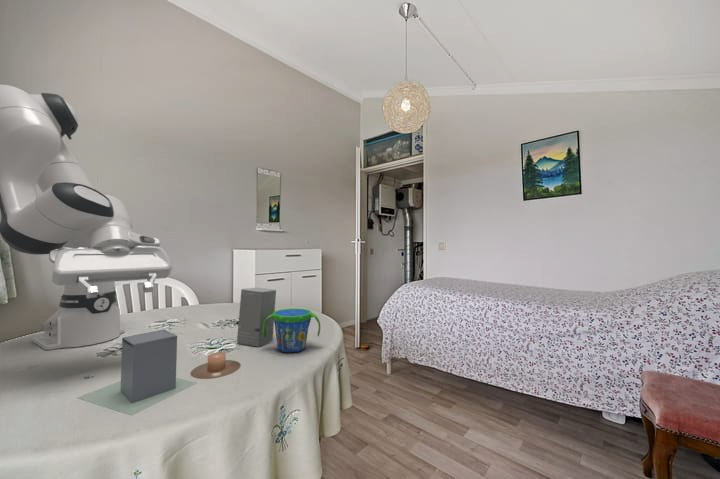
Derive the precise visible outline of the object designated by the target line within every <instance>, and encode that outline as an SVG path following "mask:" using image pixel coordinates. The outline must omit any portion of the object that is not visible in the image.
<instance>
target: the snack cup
mask: <svg viewBox="0 0 720 479" xmlns="http://www.w3.org/2000/svg"><path fill="white" fill-rule="evenodd" d="M269 318H273V319H274V330H275V331H274V332H275V338H276V346H277V349H278V351H280V352H282V353H294V352H296V353H297V352H298V353H299V352H300V351H303V350H304V349H305V348H306V346H307V345H306V344H307V339H308V333H309V327H310V324H311V320H312V318H314V319H315V320H316V322H317V323H318V330H317V337H320V334H321V321H320V319H319V317H318V316H317V315H316V314H315V313H313V312H312V311H311V310H309V309H306V308H305V309H304V308H283V309H279V310H276V311H275V312H274V313H273V314H271V315H270V316H268V317H267V318H266V320H265V322H264V325H263V337H264V338H266V322H267V320H268V319H269Z"/></svg>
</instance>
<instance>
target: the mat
mask: <svg viewBox="0 0 720 479" xmlns="http://www.w3.org/2000/svg"><path fill="white" fill-rule="evenodd" d="M196 384H197V382H196V381H191V380H187V379H182V378H179V377H176V389H173V390H170V391H167V392H164V393H161V394H158V395H155V396H152V397H149V398H147V399H144V400H141V401H138V402H135V403H131V402H130V401H129V400H128V399H127V398H126V397H125V396H124V395H123V394H122V393H121V392H120V390H121V380H120V381H116V382H115V383H112V384H109V385H107V386H104V387H101V388H99V389H96V390H94V391H91V392H88V393H86V394H83V395H80V396H77V397H76V399H79V400H82V401H86V402H87V403H91V404H93V405H97V406H100V407H103V408H107V409H110V410H114V411H115V412H116V411H117V412H119V413H122V414H126V415H129V416H134V415H136V414H137V413H140V412H141V411H143V410H145V409H147V408H149V407H151V406H154V405H155V404H158V403H160V402H162V401H164V400H166V399H167V398H169V397H173V396H174V395H177V394H178V393H180V392H181V391H184V390H186V389H188V388H190V387H192V386H194V385H196Z"/></svg>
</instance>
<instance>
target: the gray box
mask: <svg viewBox="0 0 720 479" xmlns="http://www.w3.org/2000/svg"><path fill="white" fill-rule="evenodd" d="M177 352H178V335H177V334H175V333H173V332H171V331H168V330H165V329H160V330H155V331H149V332H145V333H140V334H135V335H129V336H124V337H123V336H122V340H121V366H120V367H121V368H120V369H121V370H120V381H121V390H120V392H121V393H122V394H123V395H124V396H125V397H126V398H127V399H128V400H129V401H130V402H131V403H135V402H138V401H141V400H144V399H147V398H149V397H152V396H155V395H158V394H161V393H164V392H167V391H170V390H173V389H176V378H177V361H178V360H177V355H178V354H177Z"/></svg>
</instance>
